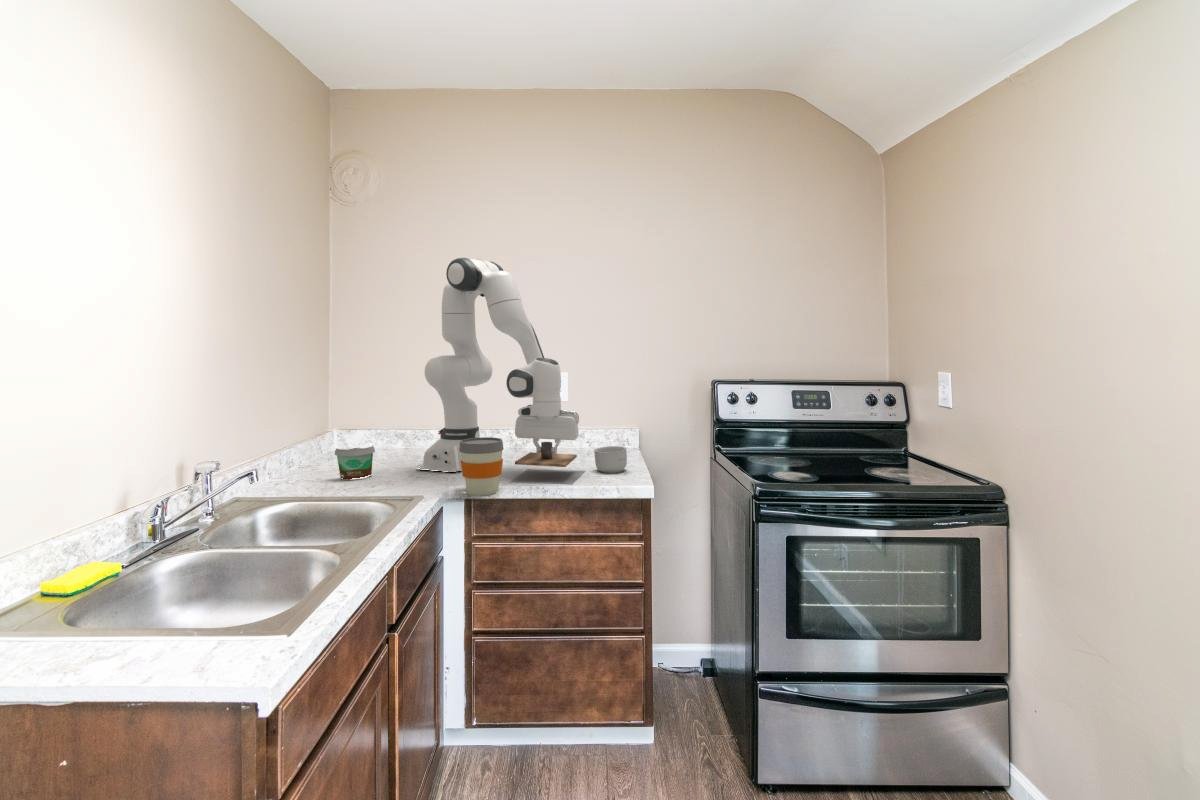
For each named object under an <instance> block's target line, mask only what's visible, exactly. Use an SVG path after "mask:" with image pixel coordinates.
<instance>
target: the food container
mask: <svg viewBox="0 0 1200 800" xmlns="http://www.w3.org/2000/svg"><path fill="white" fill-rule="evenodd" d="M375 452H376V449H375V447H374V445H371V446H368V447H364V448H362V447H361V448H360V447H358V448H357V447H355V448H349V449H343V448H342V449H340V448H337V447H336V448H335V450H334V456H336V459H337V465H338V469H339V470H338V471H339V477H340V479H341V478H343V479H352V478H360V477H365V476H368V475H371V474H373V460H374V459H373V458H374V453H375ZM371 476H372V475H371ZM343 479H342V480H343Z"/></svg>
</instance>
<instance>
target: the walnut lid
mask: <svg viewBox="0 0 1200 800" xmlns="http://www.w3.org/2000/svg"><path fill="white" fill-rule="evenodd" d="M540 446H541V453H537V452H533V451H531V452H528V453H526V454H525V455H523V456H522V457H520V458H518V459H517V460H516V461H514V465H519V466H520V465H521V466H536V467H537V466H539V467H555V468H556V467H558V468H566V467H567V466H568V465H569V464H571V463H572V462H573V461H574V460H575V459H576V458H577V457H578V454H576V453H575V454H570V453H551V451H552V450H551V448H552V447H553V441H541V443H540Z"/></svg>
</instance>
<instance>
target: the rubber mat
mask: <svg viewBox="0 0 1200 800" xmlns="http://www.w3.org/2000/svg"><path fill="white" fill-rule="evenodd" d="M586 471H587V470H572V469H571V470H568V469H566V470H565V469H563V470H562V469H535V468H534V469H533V468H530V469H529V468H528V469H526V470H525V471H524V472H522V473H520V474H518V475H517V476H515V478H513V479H512V480H510V481H508V483H509V484H510V483H514V484H518V483H519V484H538V485H539V484H543V485H546V484H547V485H571V486H572V485H573V484H574V483H576V481H577V480H578V479H580V478H581V477H582V476H583V475H584V474H585V473H586Z"/></svg>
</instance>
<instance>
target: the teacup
mask: <svg viewBox="0 0 1200 800" xmlns="http://www.w3.org/2000/svg"><path fill="white" fill-rule="evenodd" d="M627 449H628V448H627V447H626V446H622V445H621V446H620V445H607V446H600V447H596V448H595V449H593V452H594V462H595V468H597V470H598V471H600V472H602V473H604V474H605V473H606V474H615V473H616V474H617V473H621V472H622V471H623V470H624V469H625V468H626V466H627V464H628V462H627V461H628V459H627V457H628V456H627V455H628V454H627V451H628V450H627Z"/></svg>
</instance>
